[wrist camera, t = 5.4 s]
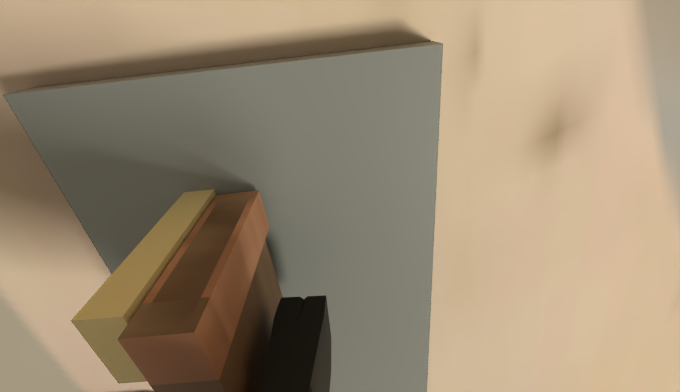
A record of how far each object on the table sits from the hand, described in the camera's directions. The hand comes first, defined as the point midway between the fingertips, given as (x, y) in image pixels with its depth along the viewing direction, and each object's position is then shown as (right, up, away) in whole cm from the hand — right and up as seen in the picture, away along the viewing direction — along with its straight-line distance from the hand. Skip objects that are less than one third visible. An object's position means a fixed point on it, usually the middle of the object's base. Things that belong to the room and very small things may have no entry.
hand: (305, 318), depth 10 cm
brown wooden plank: (-1, -1, +3) cm, 3 cm away
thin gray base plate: (-1, 0, +4) cm, 4 cm away
